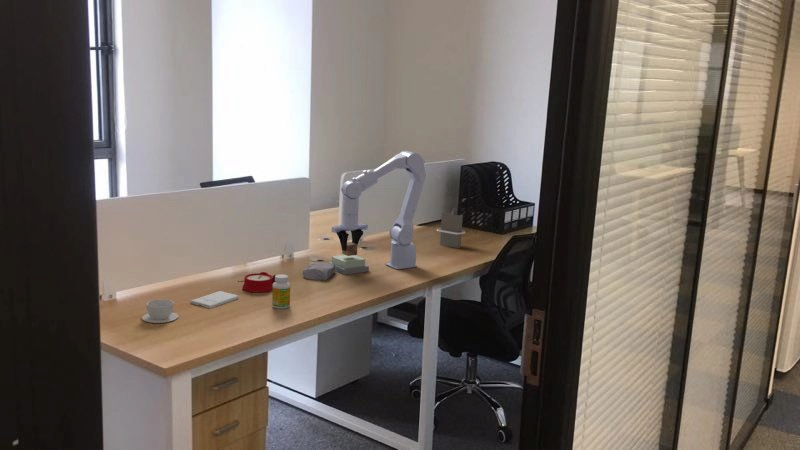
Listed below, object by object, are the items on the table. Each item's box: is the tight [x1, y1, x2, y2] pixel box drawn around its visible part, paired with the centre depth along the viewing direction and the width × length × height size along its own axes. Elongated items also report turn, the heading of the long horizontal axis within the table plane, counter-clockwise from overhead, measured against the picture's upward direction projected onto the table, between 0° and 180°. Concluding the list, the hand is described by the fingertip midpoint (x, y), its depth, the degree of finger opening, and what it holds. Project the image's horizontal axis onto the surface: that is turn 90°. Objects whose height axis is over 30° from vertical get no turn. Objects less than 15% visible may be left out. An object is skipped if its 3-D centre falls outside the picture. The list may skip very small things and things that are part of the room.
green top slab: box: [331, 254, 366, 269], centre depth 271 cm, size 9×9×2 cm
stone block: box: [302, 262, 336, 281], centre depth 261 cm, size 12×5×10 cm
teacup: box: [141, 298, 179, 324], centre depth 209 cm, size 10×10×5 cm
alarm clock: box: [237, 271, 277, 293], centre depth 243 cm, size 10×6×15 cm
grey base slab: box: [327, 261, 370, 275], centre depth 271 cm, size 11×11×2 cm
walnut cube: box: [341, 241, 358, 256], centre depth 270 cm, size 4×4×4 cm
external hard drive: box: [190, 290, 239, 309], centre depth 227 cm, size 2×8×12 cm
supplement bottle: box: [271, 273, 291, 310], centre depth 224 cm, size 5×5×10 cm
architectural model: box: [436, 212, 466, 249], centre depth 316 cm, size 20×25×15 cm
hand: (349, 249), depth 270 cm, fingers closed on walnut cube, 4 cm apart
